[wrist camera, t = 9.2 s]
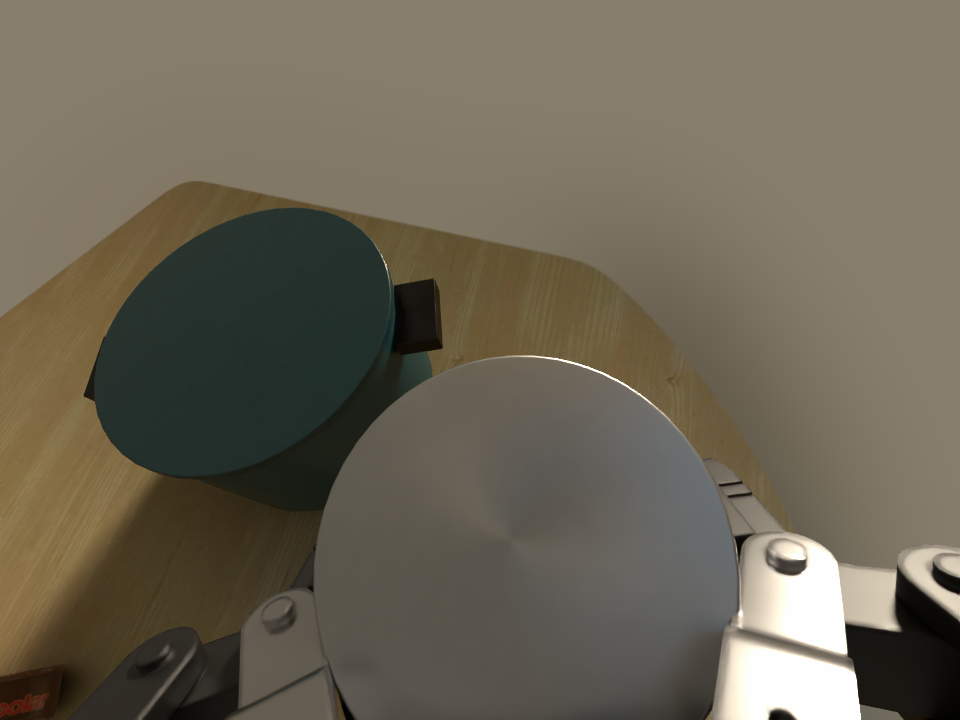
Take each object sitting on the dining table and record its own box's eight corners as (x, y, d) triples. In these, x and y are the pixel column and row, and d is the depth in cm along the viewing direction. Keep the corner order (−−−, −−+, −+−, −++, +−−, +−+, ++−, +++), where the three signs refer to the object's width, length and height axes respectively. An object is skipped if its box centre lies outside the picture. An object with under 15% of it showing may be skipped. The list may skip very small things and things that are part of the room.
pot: (457, 280, 37) (423, 178, 28) (475, 494, 29) (435, 444, 20) (212, 323, 39) (110, 240, 30) (166, 534, 31) (10, 504, 22)
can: (619, 469, 17) (668, 323, 8) (671, 686, 14) (835, 811, 5) (445, 493, 18) (322, 381, 9) (457, 704, 15) (287, 842, 6)
